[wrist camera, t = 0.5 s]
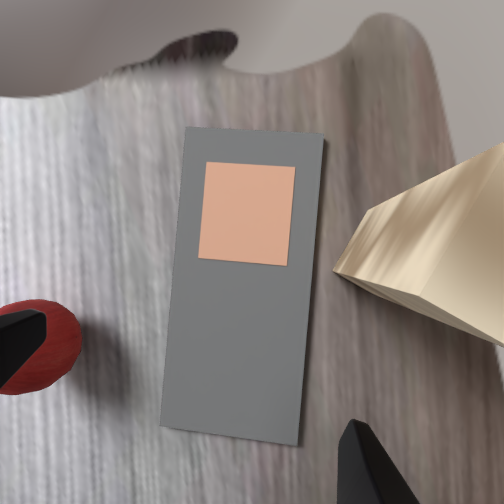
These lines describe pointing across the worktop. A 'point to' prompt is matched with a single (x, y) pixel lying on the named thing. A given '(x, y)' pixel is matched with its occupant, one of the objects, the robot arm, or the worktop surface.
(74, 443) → the worktop surface
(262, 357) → the mat
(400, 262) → the cream block
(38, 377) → the onion
